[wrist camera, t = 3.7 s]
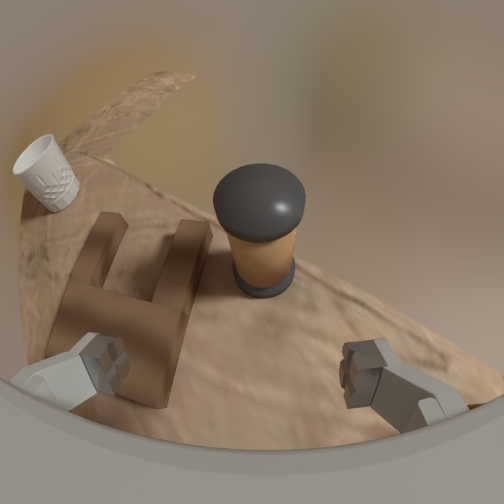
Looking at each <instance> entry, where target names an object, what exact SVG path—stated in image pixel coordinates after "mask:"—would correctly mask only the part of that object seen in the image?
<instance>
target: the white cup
mask: <svg viewBox="0 0 504 504" xmlns="http://www.w3.org/2000/svg"><path fill="white" fill-rule="evenodd" d="M13 174H14V175H15V176H16V177H17V178H18V179H19V180H20V182H21V183H22V184H23V185H24V186H25V187H26V188H27V189H28V190H29V191H30V192H31V193H32V194H33V195H34V196H35V197H36V198H37V199H38V200H39V201H40V202H41V203H43V205H44V206H45V207H46V208H47V209H48V210H49V211H51V212H54V213H56V212H59V211H62V210H63V209H65V208H66V207H67V206H69V205H70V203H71V202H72V201H73V200H74V199H75V197H76V195H77V193H78V191H79V186H80V183H79V182H78V180H77V179H76V177H75V175H74V173H73V171H72V169H71V167H70V165H69V163H68V162H67V160H66V158H65V156H64V154H63V153H62V151H61V149H60V148H59V146H58V144H57V142H56V140H55V139H54V137H53V135H52V134H47V135H44V136H42V137H40V138H39V139H37V140H36V141H34V142H33V143H32V144H31V145H30V146H28V147H27V149H26V150H25V151H24V152H23V153H22V154H21V155H20V157H19V158H18V160H17V161H16V163H15V165H14V168H13Z"/></svg>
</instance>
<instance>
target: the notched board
mask: <svg viewBox="0 0 504 504" xmlns="http://www.w3.org/2000/svg"><path fill="white" fill-rule="evenodd" d="M127 227H128V224H127V223H126V221H125V220H124V218H123V217H122V216H121V214H120V213H114V212H102V211H101V213H100V215H99V217H98V219H97V220H96V222H95V224H94V226H93V228H92V230H91V233H90V235H89V237H88V239H87V241H86V243H85V245H84V247H83V250H82V252H81V254H80V256H79V259H78V261H77V263H76V266H75V268H74V270H73V273H72V275H71V278H70V280H69V283H68V286H67V288H66V291H65V294H64V296H63V299H62V302H61V305H60V308H59V311H58V314H57V317H56V320H55V323H54V326H53V330H52V333H51V336H50V340H49V344H48V347H47V351H46V356H47V357H49V358H50V357H53V356H55V355H58V354H61V353H63V352H69V351H70V350H71V349H72V348H73V347H74V346H75V345H76V344H77V343H78V342H79V341H80V340H81V339H82V338H83V337H84V336H85V335H86V334H87V333H89V332H93V333H99V334H105V335H111V336H117V337H120V338H122V339H123V342H124V345H125V347H124V350H123V351H124V352H125V353H126V354H127V355H128V357H129V360H130V370H129V374H128V375H127V377H126V378H124V379H123V380H121V386H120V388H119V389H118V391H117V394H119V395H121V396H124V397H126V398H128V399H131V400H133V401H136V402H138V403H141V404H143V405H146V406H149V407H151V408H154V409H162V408H167V404H168V400H169V395H170V391H171V387H172V383H173V378H174V374H175V370H176V366H177V362H178V358H179V354H180V350H181V346H182V343H183V339H184V335H185V331H186V327H187V324H188V320H189V316H190V313H191V309H192V305H193V302H194V298H195V295H196V291H197V288H198V284H199V281H200V277H201V274H202V270H203V267H204V264H205V260H206V257H207V254H208V250H209V247H210V244H211V241H212V237H213V234H212V231H211V229H210V226H209V223H208V222H202V221H193V220H184V219H181V220H180V222H179V225H178V228H177V230H176V233H175V235H174V238H173V241H172V243H171V246H170V249H169V251H168V254H167V257H166V260H165V263H164V265H163V268H162V271H161V274H160V277H159V280H158V283H157V286H156V289H155V292H154V295H153V298H152V301H151V302H148V301H144V300H140V299H136V298H133V297H129V296H125V295H121V294H118V293H114V292H111V291H107V290H104V289H102V287H103V285H104V282H105V279H106V277H107V274H108V272H109V269H110V267H111V264H112V262H113V259H114V257H115V254H116V252H117V250H118V247H119V245H120V243H121V240H122V238H123V236H124V234H125V232H126V229H127Z"/></svg>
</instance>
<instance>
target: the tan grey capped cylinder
mask: <svg viewBox="0 0 504 504" xmlns="http://www.w3.org/2000/svg"><path fill="white" fill-rule="evenodd" d="M305 197H306V196H305V191H304V187H303V185H302V183H301V182H300V181H299V179H298V178H297V177H296V176H295V175H294V174H292V173H291V172H290V171H288V170H286V169H284V168H282V167H279V166H276V165H271V164H251V165H246V166H243V167H240V168H238V169H235V170H233V171H232V172H230V173H229V174H227V175H226V176H225V177H224V178H223V179H222V180H221V181H220V182H219V184H218V185H217V187H216V189H215V192H214V196H213V204H214V209H215V212H216V216H217V219H218V221H219V223H220V225H221V226H222V227H223V229H224V230H225V231H226V232H227V236H228V239H229V243H230V247H231V250H232V254H233V258H234V263H233V272H234V275H235V279H236V281H237V283H238V285H239V287H240V288H241V289H242V290H243V291H244V292H246V293H247V294H249V295H251V296H253V297H257V298H271V297H275V296H277V295H279V294H281V293H282V292H284V291H285V290H286V289H287V288H288V287H289V285H290V284H291V282H292V280H293V277H294V271H295V262H294V258H293V251H294V244H295V236H296V227H297V225H298V224H299V223H300V221H301V219H302V217H303V212H304V207H305Z"/></svg>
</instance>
